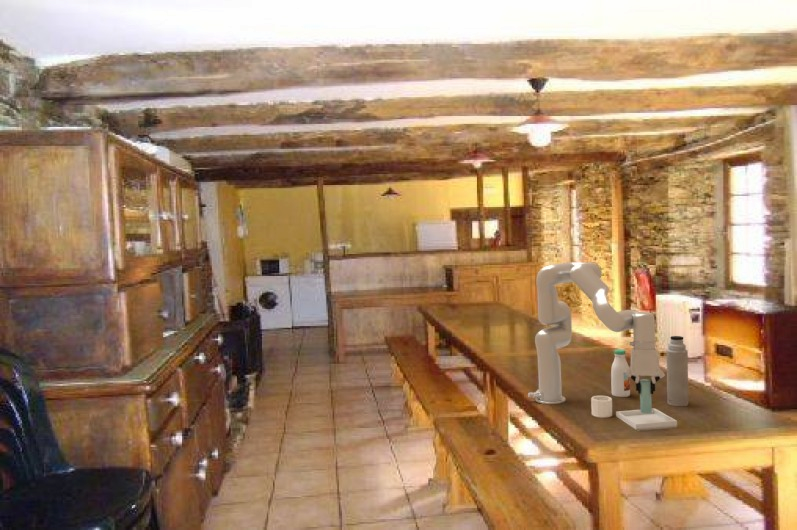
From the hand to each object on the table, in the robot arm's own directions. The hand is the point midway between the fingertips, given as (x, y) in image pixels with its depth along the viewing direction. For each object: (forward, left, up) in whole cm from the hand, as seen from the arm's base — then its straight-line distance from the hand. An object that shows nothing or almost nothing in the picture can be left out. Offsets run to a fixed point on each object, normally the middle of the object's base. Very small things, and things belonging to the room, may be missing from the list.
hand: (645, 392), depth 243 cm
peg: (0, 0, -7) cm, 7 cm away
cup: (-12, +12, -12) cm, 21 cm away
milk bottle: (+8, +37, -12) cm, 40 cm away
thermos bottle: (+24, +19, -12) cm, 33 cm away
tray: (0, 0, -12) cm, 12 cm away
